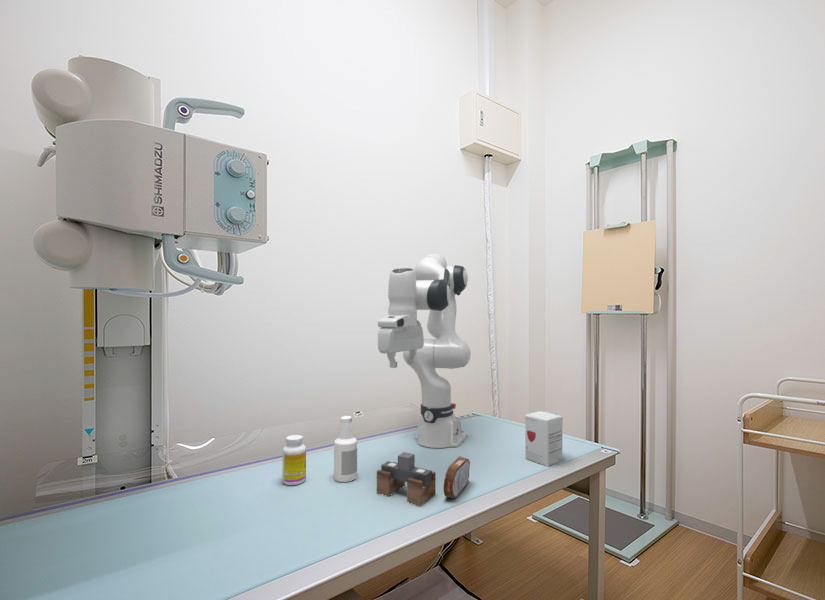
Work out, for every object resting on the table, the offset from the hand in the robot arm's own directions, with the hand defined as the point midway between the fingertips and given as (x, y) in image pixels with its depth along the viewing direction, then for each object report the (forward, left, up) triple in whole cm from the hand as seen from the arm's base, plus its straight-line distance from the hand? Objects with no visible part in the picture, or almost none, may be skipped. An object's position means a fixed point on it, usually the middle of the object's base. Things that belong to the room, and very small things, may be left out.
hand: (402, 365), depth 125 cm
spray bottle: (+11, -13, -33) cm, 37 cm away
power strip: (+10, +8, -29) cm, 32 cm away
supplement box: (-36, +33, -33) cm, 59 cm away
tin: (+1, +19, -33) cm, 39 cm away
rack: (+10, +8, -33) cm, 35 cm away
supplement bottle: (+21, -24, -33) cm, 46 cm away
